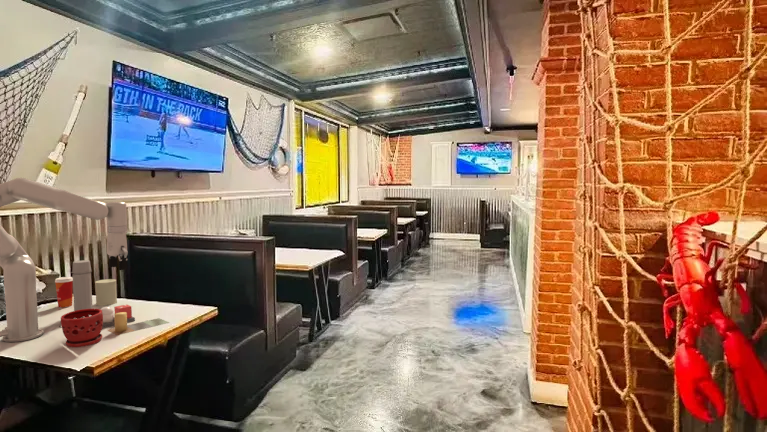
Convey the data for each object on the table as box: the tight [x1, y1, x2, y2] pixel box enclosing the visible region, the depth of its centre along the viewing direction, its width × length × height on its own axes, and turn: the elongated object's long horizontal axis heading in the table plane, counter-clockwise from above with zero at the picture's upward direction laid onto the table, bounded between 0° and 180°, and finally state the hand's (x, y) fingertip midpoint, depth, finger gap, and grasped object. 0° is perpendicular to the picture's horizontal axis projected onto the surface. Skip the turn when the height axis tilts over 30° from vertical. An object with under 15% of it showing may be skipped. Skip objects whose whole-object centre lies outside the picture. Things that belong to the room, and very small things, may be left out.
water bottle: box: [70, 259, 93, 311], centre depth 204 cm, size 9×8×25 cm
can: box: [94, 278, 118, 307], centre depth 224 cm, size 9×9×12 cm
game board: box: [107, 317, 170, 336], centre depth 186 cm, size 21×10×1 cm, turn 141°
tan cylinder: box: [114, 312, 128, 332], centre depth 181 cm, size 4×4×7 cm
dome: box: [100, 306, 115, 324], centre depth 188 cm, size 6×6×7 cm
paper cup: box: [54, 276, 74, 308], centre depth 218 cm, size 8×8×14 cm
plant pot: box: [60, 308, 103, 348], centre depth 167 cm, size 13×13×12 cm
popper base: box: [96, 304, 136, 329], centre depth 190 cm, size 14×8×7 cm, turn 141°
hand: (118, 268), depth 194 cm, fingers open, 9 cm apart
